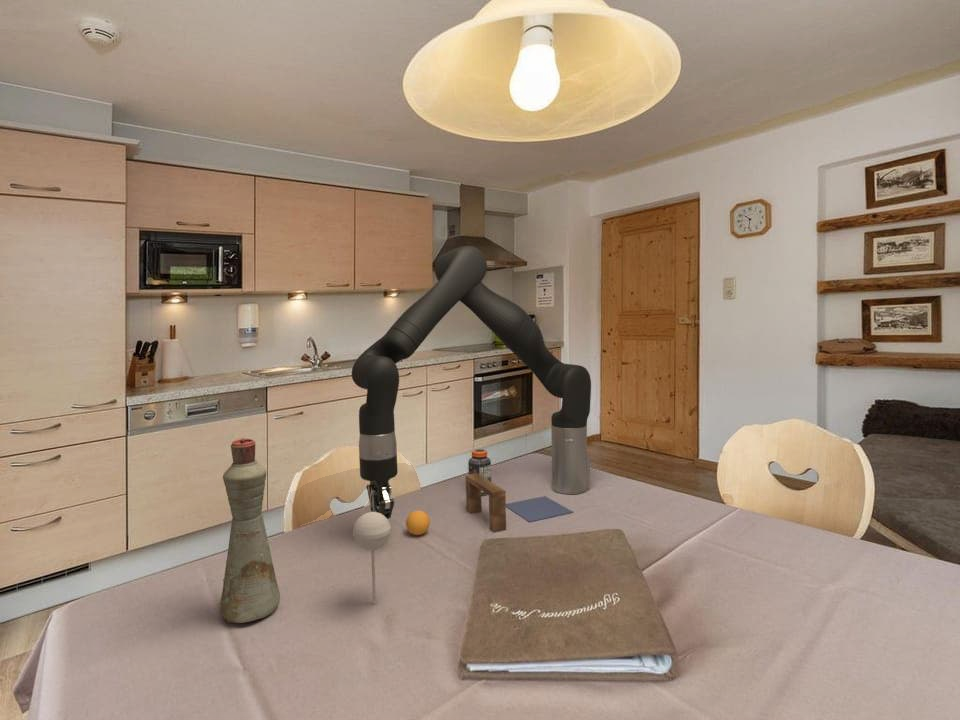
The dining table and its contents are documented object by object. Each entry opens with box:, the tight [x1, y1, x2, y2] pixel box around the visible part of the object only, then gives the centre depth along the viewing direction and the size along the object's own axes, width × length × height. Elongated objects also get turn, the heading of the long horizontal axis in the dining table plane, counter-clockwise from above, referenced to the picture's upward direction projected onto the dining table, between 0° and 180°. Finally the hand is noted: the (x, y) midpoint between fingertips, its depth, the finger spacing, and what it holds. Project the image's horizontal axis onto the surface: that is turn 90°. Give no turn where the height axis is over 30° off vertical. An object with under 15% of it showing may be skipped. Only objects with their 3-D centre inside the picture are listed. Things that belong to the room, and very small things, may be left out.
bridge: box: [465, 473, 507, 533], centre depth 115 cm, size 3×14×9 cm, turn 26°
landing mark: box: [506, 495, 574, 523], centre depth 121 cm, size 12×12×1 cm
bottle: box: [219, 437, 281, 624], centre depth 79 cm, size 9×9×28 cm
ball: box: [405, 509, 431, 536], centre depth 108 cm, size 5×5×5 cm
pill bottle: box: [467, 448, 492, 496], centre depth 133 cm, size 6×6×11 cm
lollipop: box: [352, 511, 392, 605], centre depth 81 cm, size 6×6×15 cm
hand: (381, 535), depth 105 cm, fingers closed
